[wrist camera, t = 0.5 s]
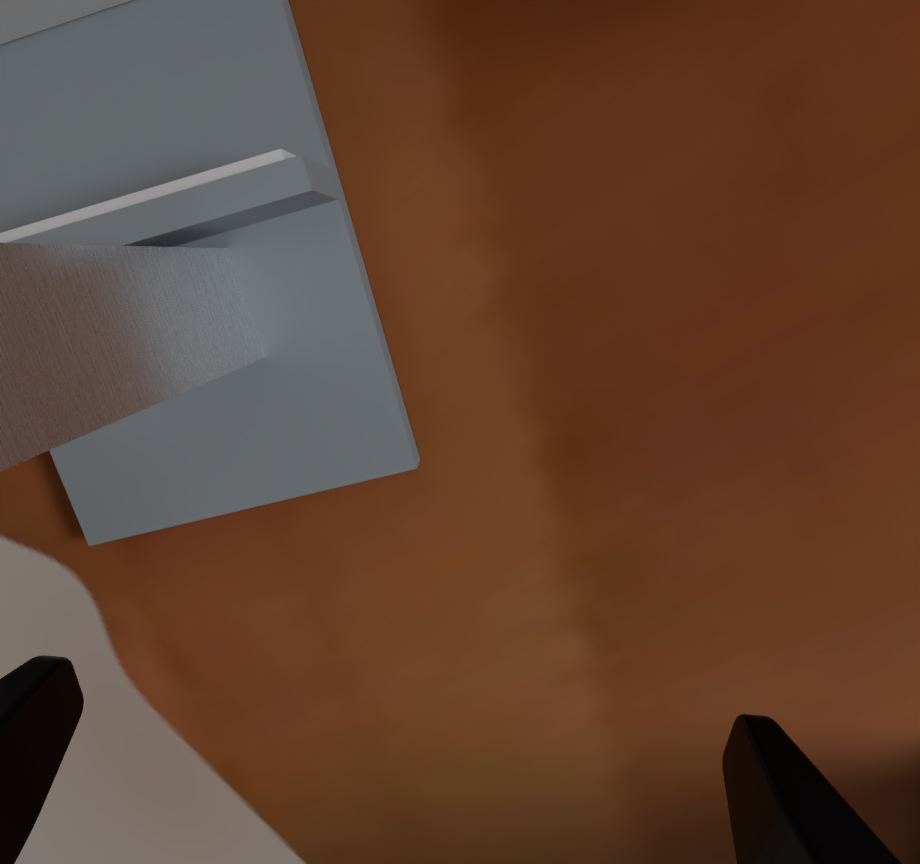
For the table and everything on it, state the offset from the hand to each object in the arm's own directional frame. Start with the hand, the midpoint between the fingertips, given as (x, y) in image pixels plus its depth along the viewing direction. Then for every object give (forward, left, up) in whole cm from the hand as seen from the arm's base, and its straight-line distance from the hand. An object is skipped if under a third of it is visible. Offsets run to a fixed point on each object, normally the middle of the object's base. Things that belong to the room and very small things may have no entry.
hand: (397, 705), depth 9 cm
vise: (+4, +11, -15) cm, 19 cm away
